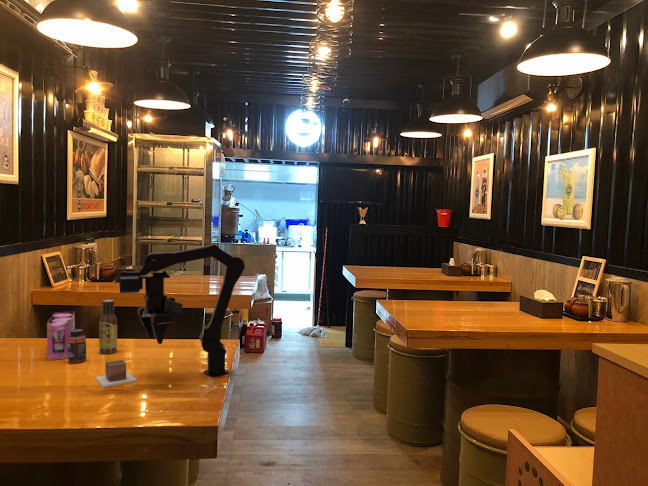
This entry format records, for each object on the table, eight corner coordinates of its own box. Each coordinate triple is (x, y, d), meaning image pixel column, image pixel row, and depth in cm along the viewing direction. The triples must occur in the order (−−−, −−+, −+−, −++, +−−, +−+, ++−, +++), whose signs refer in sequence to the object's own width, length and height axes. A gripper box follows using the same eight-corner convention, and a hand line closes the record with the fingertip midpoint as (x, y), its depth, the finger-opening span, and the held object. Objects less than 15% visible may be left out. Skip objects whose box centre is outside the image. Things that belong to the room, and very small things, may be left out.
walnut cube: (126, 379, 164) (126, 363, 164) (109, 381, 161) (109, 365, 161) (122, 375, 168) (122, 359, 168) (105, 377, 165) (105, 362, 165)
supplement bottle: (90, 359, 188) (89, 328, 188) (80, 364, 182) (80, 332, 182) (74, 359, 189) (73, 328, 188) (64, 363, 183) (63, 331, 183)
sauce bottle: (95, 353, 197) (94, 301, 196) (107, 349, 202) (106, 298, 201) (109, 355, 194) (108, 302, 193) (121, 351, 200) (120, 299, 199)
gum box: (70, 359, 189) (69, 322, 188) (46, 361, 186) (45, 323, 185) (75, 344, 211) (75, 311, 210) (53, 346, 208) (53, 312, 208)
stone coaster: (136, 381, 163) (136, 379, 163) (102, 387, 158) (102, 385, 158) (128, 373, 172) (128, 371, 172) (95, 379, 166) (95, 377, 166)
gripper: (190, 293, 163) (190, 343, 163) (170, 287, 178) (170, 332, 179) (154, 296, 156) (154, 348, 157) (136, 289, 171) (137, 336, 172)
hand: (155, 340), depth 166 cm, fingers open, 9 cm apart
